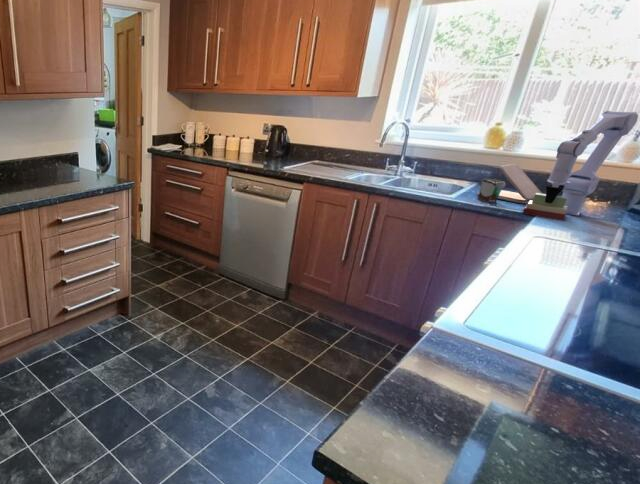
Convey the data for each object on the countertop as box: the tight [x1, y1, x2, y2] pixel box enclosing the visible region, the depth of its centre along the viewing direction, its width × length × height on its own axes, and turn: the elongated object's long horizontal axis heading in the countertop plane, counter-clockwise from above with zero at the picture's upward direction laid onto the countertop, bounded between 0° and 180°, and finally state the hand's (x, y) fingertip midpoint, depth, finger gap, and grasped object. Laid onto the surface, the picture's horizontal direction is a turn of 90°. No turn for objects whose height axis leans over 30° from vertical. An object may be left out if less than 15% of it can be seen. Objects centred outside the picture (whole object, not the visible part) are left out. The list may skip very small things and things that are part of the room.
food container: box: [476, 177, 506, 204], centre depth 203 cm, size 12×6×10 cm, turn 168°
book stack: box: [522, 200, 567, 221], centre depth 184 cm, size 11×13×4 cm
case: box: [476, 163, 543, 204], centre depth 211 cm, size 20×21×16 cm
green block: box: [532, 192, 567, 208], centre depth 183 cm, size 5×10×4 cm, turn 44°
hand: (548, 201), depth 183 cm, fingers open, 5 cm apart
